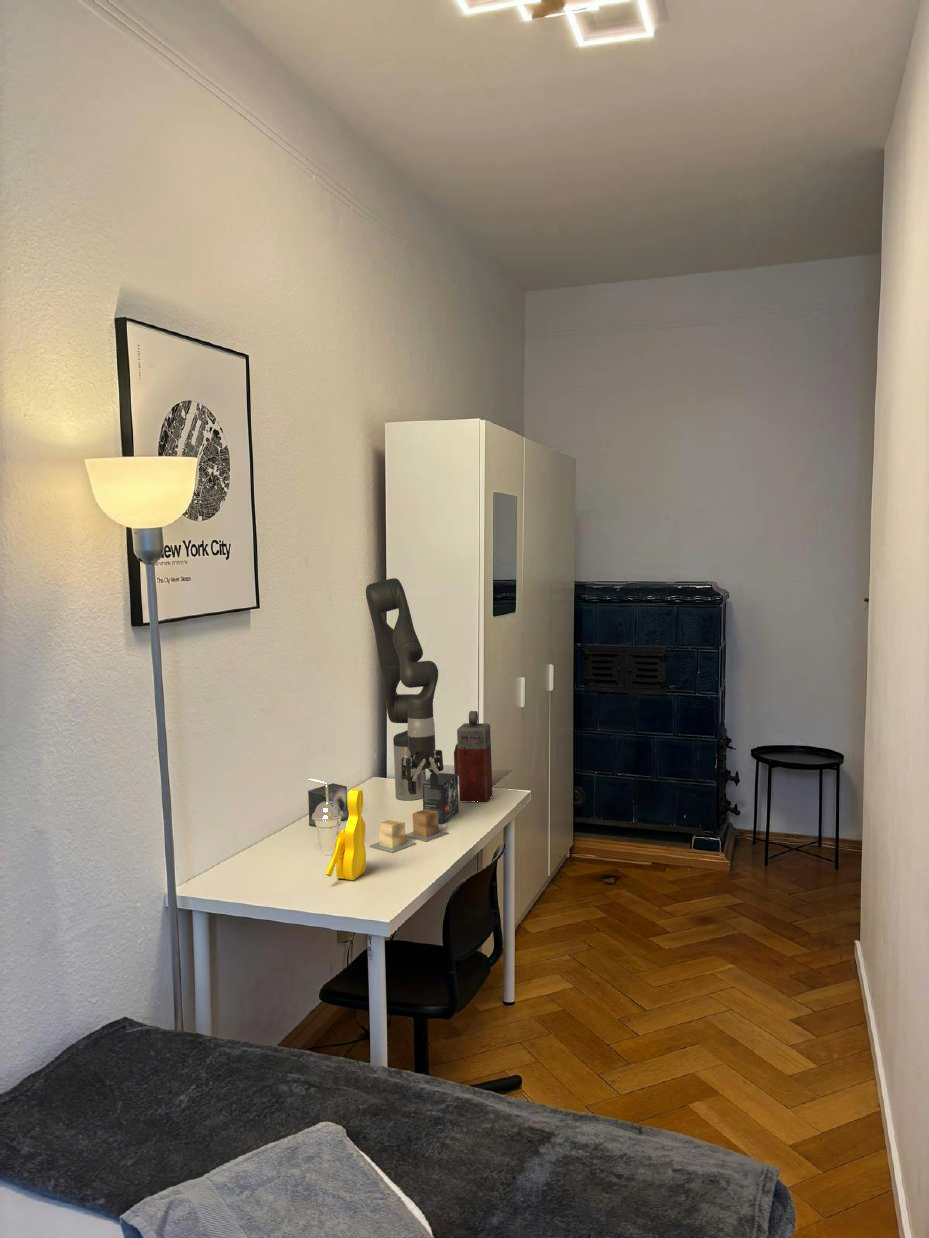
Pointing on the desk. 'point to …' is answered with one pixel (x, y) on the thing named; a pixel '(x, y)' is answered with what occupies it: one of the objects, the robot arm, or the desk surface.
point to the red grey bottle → (474, 760)
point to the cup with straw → (327, 822)
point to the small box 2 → (442, 796)
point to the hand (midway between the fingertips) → (423, 790)
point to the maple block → (392, 833)
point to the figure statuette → (350, 842)
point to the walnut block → (425, 823)
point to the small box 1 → (335, 795)
